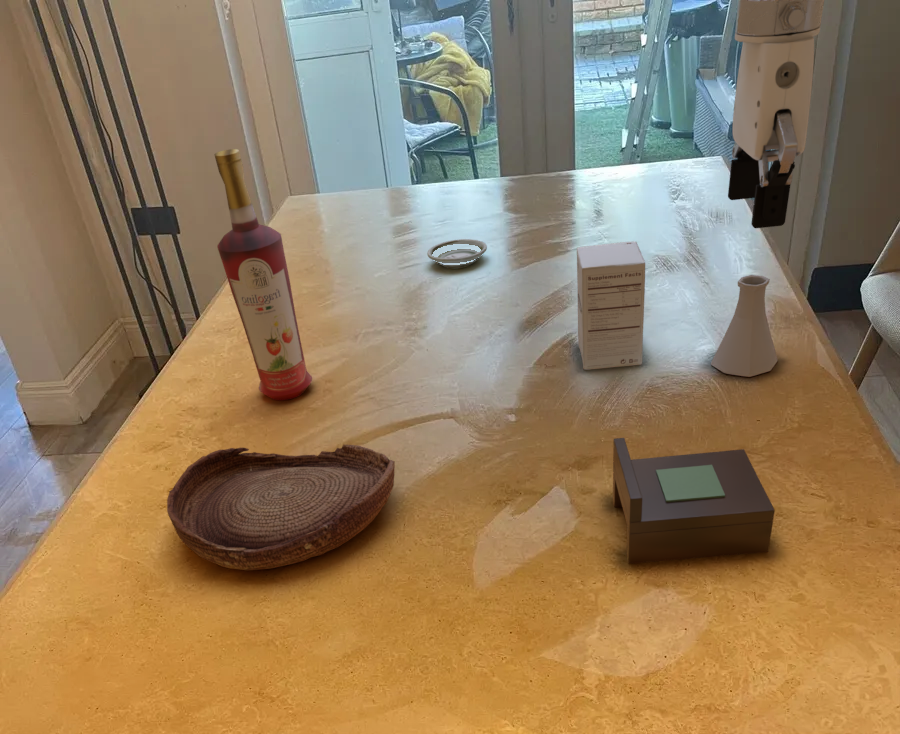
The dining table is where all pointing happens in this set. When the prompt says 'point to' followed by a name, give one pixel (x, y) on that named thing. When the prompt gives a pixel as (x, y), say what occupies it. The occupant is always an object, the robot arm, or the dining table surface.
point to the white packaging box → (610, 304)
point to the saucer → (458, 253)
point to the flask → (747, 333)
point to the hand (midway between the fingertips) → (754, 211)
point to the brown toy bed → (690, 505)
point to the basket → (277, 504)
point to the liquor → (261, 288)
